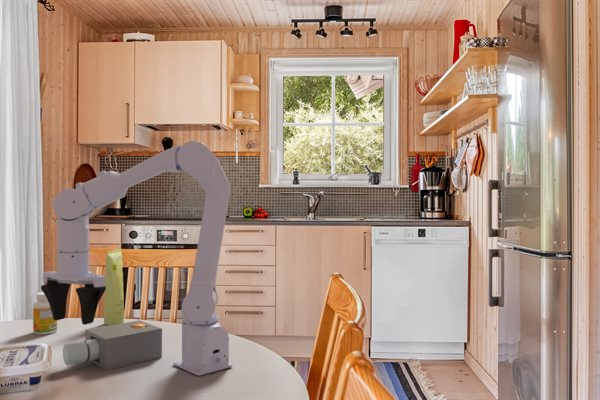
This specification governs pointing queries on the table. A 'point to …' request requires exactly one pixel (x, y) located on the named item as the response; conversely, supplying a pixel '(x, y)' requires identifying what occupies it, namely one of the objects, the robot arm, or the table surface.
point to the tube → (114, 289)
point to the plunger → (138, 326)
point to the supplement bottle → (43, 316)
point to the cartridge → (81, 351)
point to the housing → (126, 344)
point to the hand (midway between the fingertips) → (73, 321)
